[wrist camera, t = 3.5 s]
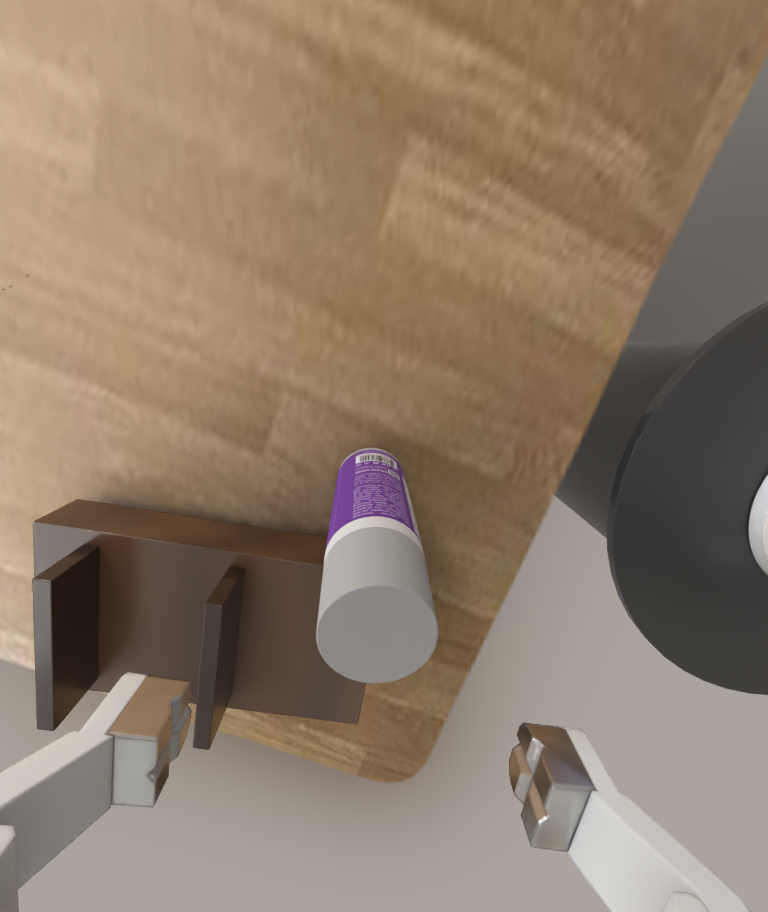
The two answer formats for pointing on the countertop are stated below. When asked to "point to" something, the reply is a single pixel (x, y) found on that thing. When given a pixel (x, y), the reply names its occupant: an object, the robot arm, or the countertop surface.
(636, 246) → the countertop surface
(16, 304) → the countertop surface
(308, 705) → the brown two-slot stand
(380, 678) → the container
